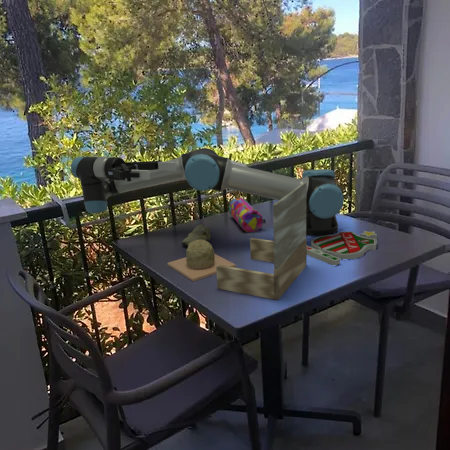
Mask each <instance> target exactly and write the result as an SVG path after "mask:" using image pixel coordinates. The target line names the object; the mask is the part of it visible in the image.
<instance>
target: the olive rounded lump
mask: <svg viewBox="0 0 450 450" xmlns="http://www.w3.org/2000/svg"><path fill="white" fill-rule="evenodd" d="M214 254H215V251H214V248H213V245H212V244H211V243H210V241H205V240H201V239H199V240H195V241H192V242H191V243H189V244H188V246H187V248H186V253H185V255H186V257H187V259H186V261H187V267H189V268H191V269H205V268H209V267H211V266H212V265H213V264H214V260H215V255H214Z"/></svg>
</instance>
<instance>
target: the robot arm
mask: <svg viewBox="0 0 450 450" xmlns="http://www.w3.org/2000/svg"><path fill="white" fill-rule="evenodd" d="M70 171H71V173H72V175H73V177H75V178H76V179H79V181H80V185H81V186H80V187H81V191H82V196H83V205H84V207H85V210H86V212H87V213H89V214H98V213H103V212H105V211H107V210H108V201H107V200H108V199H109V197H111V196H115V195H118V194H122V193H123V194H124V193H126V192H131V191H135V190H139V189H144V188H147V187H152V186H155V185H156V186H157V185H160V184H164V183H169V182H173V181H174V182H175V181H177V180H182V179H185V180H186V182H187V183H188V184H189V186H190V187H192V188H193V189H194V190H197V191H201V192H202V191H203V192H204V191H210V190H212V191H216V192H221V193H222V192H224V190H227V189H228V190H232V191H236V192H242V193H245V194H249V195H253V196H259V197H263V198H267V199H271V200H276V201H279V200H280V199H282V198H283V197H284V196H286V195H287V194H289V193H290V192H291V191H293V190H294V189H295V188H297V187H298V186H299V185H301V184H302V183H304V182H307V187H306V236H312V237H320V236H326V235H334V234H337V233H338V232H339V223H338V219H337V217H336V216H337V215H338V214H339V212H341V210H342V208H343V206H344V201H345V199H344V195H343V191H342V190H341V188H340V187H339V186H338V185H337V183H336V182H335V179H336V174H335V171H334V170H333V169H326V168H325V169H323V168H322V169H321V168H320V169H307V170H304V171H303V172H302V177H301V179H300V178H297V177H291V176H287V175H282V174H279V173H274V172H270V171H265V170H261V169H257V168H252V167H249V166H244V165H239V164H235V163H233V162H232V161H231V160H230V158H229V157H225V156H221V155H219V154H218V153H217V152H216V151H214V150H213V149H211V148H208V147H207V148H206V147H202V148H199V149H195V150H193V151H188V152H185V153H183V154H180V156H179V157H178V158H174V159H169V160H165V161H163V160H161V158H158V160H150V161H149V160H148V161H147V160H146V161H145V160H144V161H133V162H131V161H127V162H126V161H125V160H124V159H123V158H121V157H115V156H88V155H87V156H78V157H75V158H74V159H73V160H72V161H71V165H70Z"/></svg>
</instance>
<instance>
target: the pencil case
mask: <svg viewBox="0 0 450 450" xmlns="http://www.w3.org/2000/svg"><path fill="white" fill-rule="evenodd" d="M228 211H229V214H230V215H231V216H232V217H233V219H234V220H235V221H236V223H237V224H238V225H239V227H240V228H241V229H242V230H243V231H244V232H246V233H254V232H258V231H259V230H261V228H262V226H263V224H266V223H267V222H266V221H267V220H266V219H265V218H263V215H262V214H261V213H260V211H259V210H257V209H254V207H253V206H252V205H251V204H250V203H249V201H247V199H245V198H243V197H238V198H233V199H232V200H231V201H230V203H229V204H228Z"/></svg>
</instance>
